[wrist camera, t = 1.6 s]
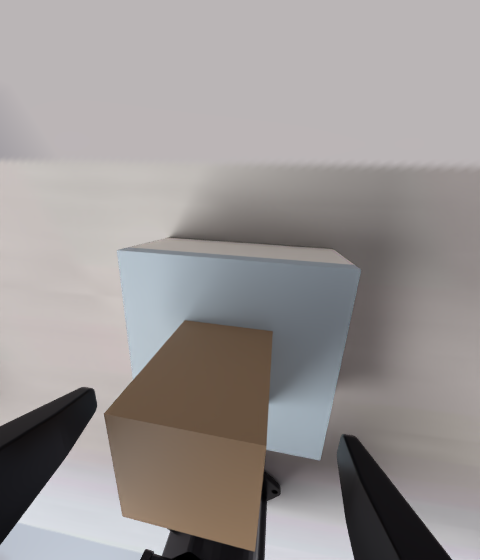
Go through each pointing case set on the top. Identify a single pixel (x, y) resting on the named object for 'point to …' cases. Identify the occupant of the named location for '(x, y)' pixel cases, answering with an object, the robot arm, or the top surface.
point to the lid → (222, 382)
